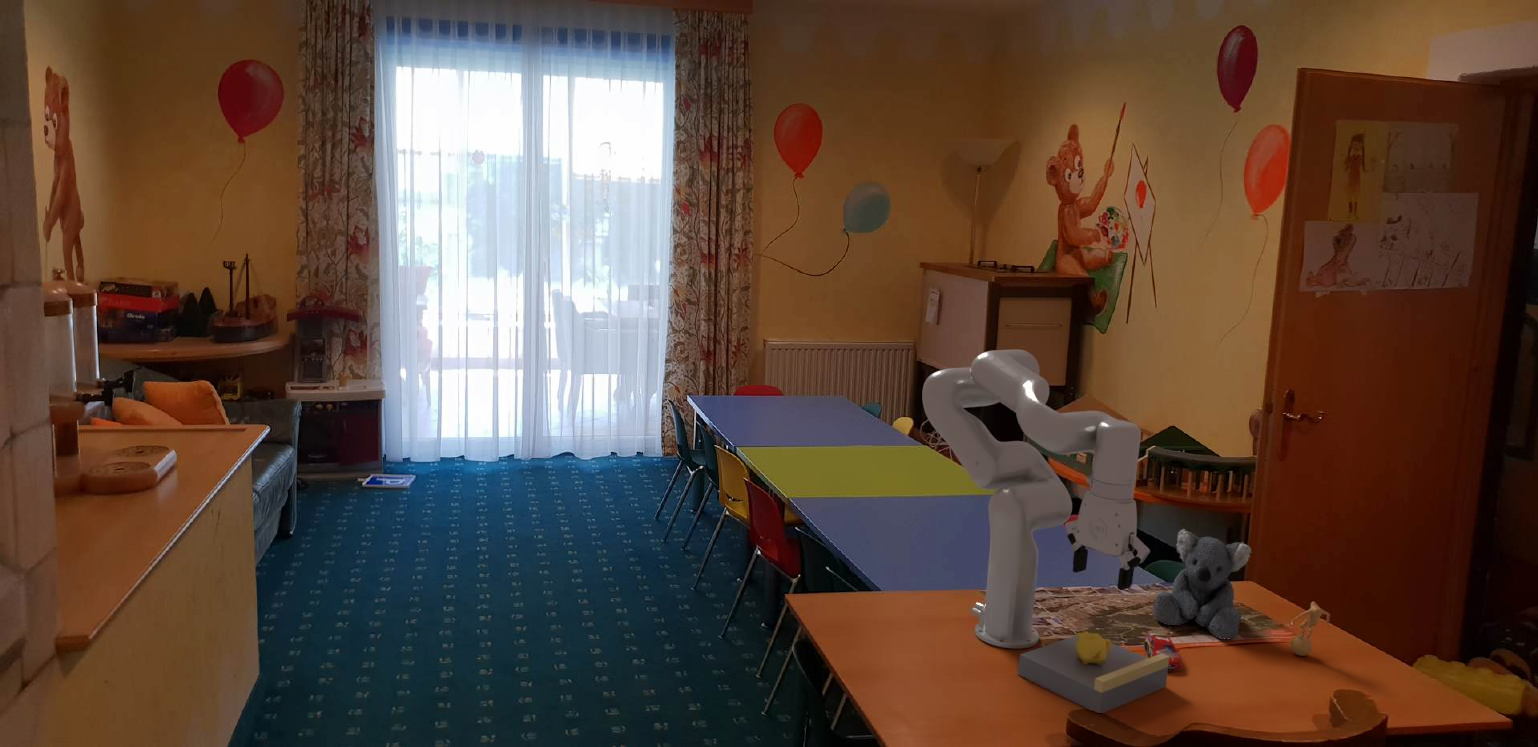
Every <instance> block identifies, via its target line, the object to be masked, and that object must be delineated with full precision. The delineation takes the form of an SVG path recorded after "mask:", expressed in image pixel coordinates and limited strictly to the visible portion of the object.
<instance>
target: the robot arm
mask: <svg viewBox="0 0 1538 747" xmlns="http://www.w3.org/2000/svg"><path fill="white" fill-rule="evenodd" d="M921 396H922V405H923V409H924V413H925V415H926V417H927V420H928V421H929V422H930V424H931V426H932V427H933V428H934V430H935V431H936V432H937V433H938V434H939V435H940V437H941V438H942V439H943V440H944V441H945V442H946V444H947V445H948V446H949V447H950V448H951V451H952V452H953V453H954V455H955V457H956V458H957V460H958V461H959V463H960V464H961V465H962V467H963V469H964V470H965V471H966V472H967V474H968V476H969V477H970V478H971V479H972V481H973V482H974V484H975V486H977V487H978V488H980V489H982V490H983V491H995V492H994V493H993V494H992V495H991V496H990V498H989V502H988V520H989V528H990V529H989V530H990V538H989V539H990V541H989V542H990V543H989V556H988V557H989V558H988V568H987V569H988V570H987V581H986V591H985V601H984V602H985V604H983V603H981V602H978V601H977V602H976V603H975V604H974V607H973V608H971V611H970V612H971V614H972V616H973V615H974V616H975V617H978V618H979V621H978V622H977V624H975V626H974V627H975V628H974V634H975V635H976V637H977V638H978V639H979V640H981V641H983V642H985V643H987V644H989V645H992V646H996V647H999V648H1004V649H1013V650H1015V649H1028V648H1031V647H1033V646H1035V645H1037V644H1038V643H1039V638H1040V635H1039V633H1038V631H1037V630H1036V629H1035V628H1034V627H1033V620H1034V618H1033V616H1034V610H1035V608H1034V606H1035V598H1036V587H1037V578H1038V568H1039V567H1038V566H1039V550H1038V547H1037V544H1036V541H1035V539H1034V536H1033V535H1034V534H1033V533H1034V531H1039V530H1044V529H1049V528H1056V527H1058V526H1061V525H1063V524H1064V526H1065V530H1066V534H1067V539H1068V541H1069V542H1070V545H1071V549H1072V551H1073V558H1072V565H1073V566H1072V572H1073V573H1081V572H1083V571H1085V570H1087V563H1088V558H1089V557H1088V556H1089V555H1088V554H1089V551H1088V549H1091V550H1093V551H1096V552H1099V553H1101V554H1104V555H1107V556H1110V557H1113V558H1118V560H1119V562H1120V564H1121V566H1122V567H1120V568H1119V571H1118V577H1117V580H1118V581H1117V590H1120V591H1124V590H1126V589H1130V588H1131V586H1132V585H1133V580H1134V571H1135V568H1137V567H1138V566H1139V565H1141V564H1143V563H1144V562H1145V559H1146V558H1148V555H1149V554H1150V553H1151V549H1150V548H1149V547H1148V546H1147V545H1145V544H1144V543H1143V541H1141V540H1140V539H1139V537H1137V533H1138V532H1137V530H1138V529H1137V528H1138V527H1137V525H1138V513H1137V503H1136V500H1135V499H1134V495H1135V494H1134V493H1135V486H1136V485H1135V484H1136V477H1137V471H1138V470H1137V469H1138V463H1139V462H1138V461H1139V455H1140V448H1141V447H1140V446H1141V445H1140V444H1141V440H1142V438H1141V437H1142V431H1141V428H1140V426H1139V425H1138V424H1136V423H1133V422H1131V421H1128V420H1123V419H1117V418H1115V417H1113V416H1111V415H1109V414H1108V413H1106V412H1102V411H1101V410H1099V411H1098V410H1087V411H1086V410H1085V411H1071V412H1070V411H1069V412H1063V413H1062V412H1058V411H1057V410H1055V409H1053V408H1051V407H1050V406H1048V405H1047V404H1046V403H1047V402H1048V399H1049V396H1050V385H1049V383H1048V381H1047V380H1046V379H1045V378H1044V377H1043V376H1040V365H1039V363H1038V360H1037V359H1036V357H1034V355H1033V354H1031V353H1030V352H1029V351H1026V350H1024V349H1000V350H999V349H996V350H988V351H985V352H982V353H980V354H979V355H977V356H976V357H975V358H974V359H973V360H972V363H971V365H970V366H968V367H953V368H944V369H941V370H938V371H936V372H933V373H931V374H930V375H929V376H928V377H927V378H926V379H925V381H924V383H923V386H922V395H921ZM998 403H1001V404H1002V405H1004V406H1005V407H1007V408H1008V409H1010V410H1011V411H1013V412H1014V413H1016V418H1017V422H1018V424H1019V426H1020V429H1021V430H1022V432H1023V433H1024V435H1025V436H1026V437H1028V439H1030V440H1032V441H1033V442H1034V443H1035V444H1037V445H1039V446H1040V447H1042V448H1043V449H1045V450H1046V451H1048V452H1051V453H1053V454H1055V455H1062V456H1064V455H1065V456H1066V455H1067V456H1068V455H1072V454H1073V455H1074V454H1080V453H1093V461H1092V468H1091V476H1090V475H1087V476H1086V479H1085V481H1086V483H1087V484H1089V490H1086V491H1085V492H1084V495H1083V498H1082V500H1081V504H1080V507H1079V511H1078V516H1077V519H1075V520H1072V521H1068V520H1070V517H1071V514H1072V511H1073V502H1072V498H1071V495H1070V493H1069V490H1068V489H1067V488H1066V486H1065V484H1064V483H1063V482H1062V481H1061V479H1060V478H1059V476H1058V475H1057V473H1056V472H1055V471H1054V469H1053V468H1052V467H1051V465H1050V464H1049V463H1048V461H1047V460H1046V459H1045V457H1044V455H1042V454H1041V453H1040V451H1039V450H1038V449H1037V448H1036V447H1035V446H1033V445H1032V444H1030V443H1028V442H1025V441H1022V440H1021V441H1020V440H1014V441H1013V440H1012V441H999V440H997V439H996V438H995V437H994V436H993V434H992V433H991V432H990V430H989V429H988V428H987V426H986V425H985V423H984V422H983V421H982V420H980V419H979V418H978V417H976V416H975V415H974V414H972V413H970V412H968V410H966V409H965V408H976V407H977V408H978V407H987V406H991V405H995V404H998ZM1067 521H1068V522H1067ZM1135 550H1136V551H1137V554H1136V555H1134V551H1135Z"/></svg>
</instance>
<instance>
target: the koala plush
mask: <svg viewBox="0 0 1538 747" xmlns="http://www.w3.org/2000/svg"><path fill="white" fill-rule="evenodd" d="M1176 540H1177V543H1176V545H1175V546H1176V553H1179V559H1181V560H1182V563H1184V565H1185V568H1184V569H1183V570H1181V571H1180V572H1179V573H1178V575H1177V576H1176V577H1175V579H1174V581H1173V584H1172V587H1171V592H1170V591H1167V590H1166V591H1165V590H1162V591H1159V593H1158V594H1157V595H1156V598H1155V599H1154V602H1153V604H1152V606H1153V611H1152V612H1153V613H1152V614H1153V616H1154V619H1156V620H1157V621H1158V622H1159V621H1160V622H1162V623H1166V624H1169V625H1177V626H1182V625H1181V624H1183V625H1185V624H1187V622H1188V623H1189V621H1191V620H1192V621H1194V622H1196V624H1198V625H1199V626H1201V627H1205V628H1207V631H1208V630H1209V631H1210V632H1209V631H1208V632H1209V633H1210V634H1211V635H1212V636H1214V635H1215V636H1217V637H1220V638H1222V639H1221V640H1223V639H1224V638H1225V639H1227V640H1229V639H1228V638H1231V639H1232V637H1233V638H1234V637H1236V636H1237V634H1238V631H1239V627H1240V624H1241V620H1242V612H1241V611H1240V610H1239V609H1237V608H1236V607H1235V606H1234V599H1235V598H1234V597H1235V594H1234V593H1235V591H1234V587H1233V584H1232V582H1231V581H1230V580H1228V577H1229V576H1230V574H1231V572H1232V573H1233V572H1235V573H1236V572H1238V571H1239V570H1241V568H1243V567H1245V566H1246V565H1247V562H1249V558H1251V556H1250V554H1252V548H1251V547H1250V546H1249V545H1247V544H1245V542H1244V541H1242V542H1238V541H1236V542H1233V543H1229V544H1225V543H1223V541H1221V540H1220V539H1218V538H1214V537H1212V536H1204V537H1198V536H1197V535H1196V534H1193V533H1192V532H1191V531H1188V530H1186V529H1185V528H1182V529H1180V531H1178V532H1177V537H1176ZM1193 619H1194V620H1193ZM1192 621H1191V622H1192ZM1160 622H1159V623H1160ZM1184 623H1185V624H1184ZM1215 636H1214V637H1215ZM1217 637H1216V638H1217ZM1225 639H1224V640H1225Z"/></svg>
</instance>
